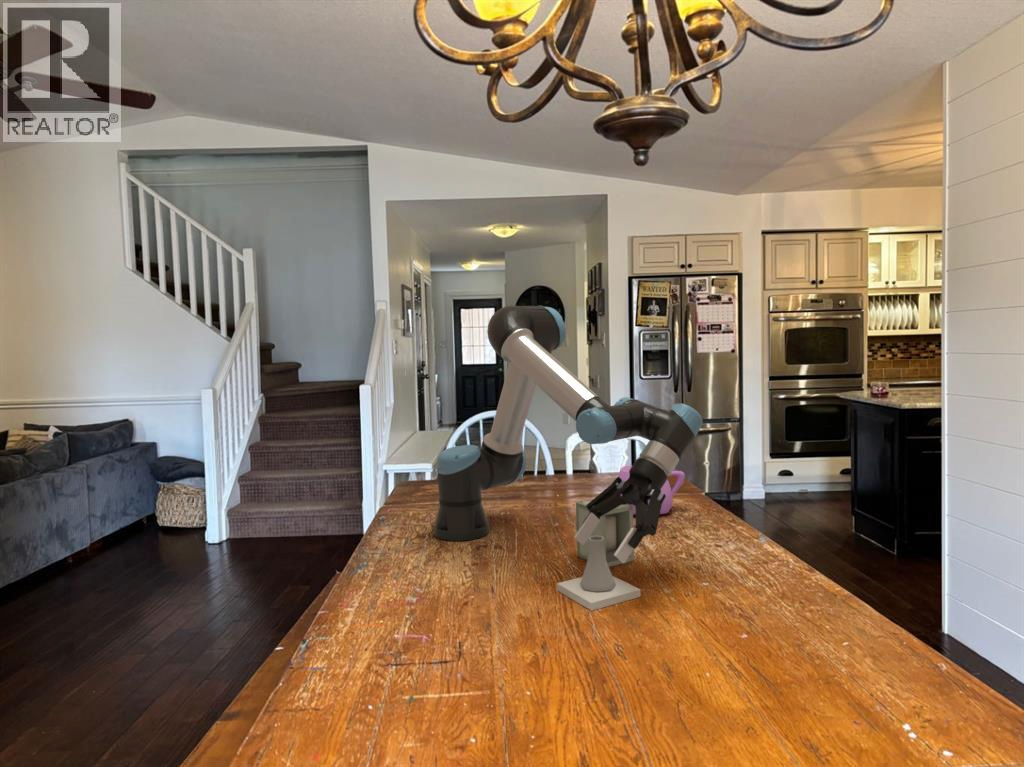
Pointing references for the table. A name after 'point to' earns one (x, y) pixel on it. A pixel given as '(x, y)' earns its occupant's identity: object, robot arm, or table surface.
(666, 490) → the teapot
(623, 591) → the plate
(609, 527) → the dispenser box
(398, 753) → the table surface
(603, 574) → the flask
